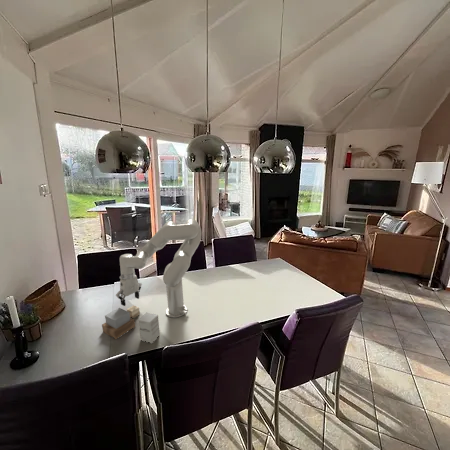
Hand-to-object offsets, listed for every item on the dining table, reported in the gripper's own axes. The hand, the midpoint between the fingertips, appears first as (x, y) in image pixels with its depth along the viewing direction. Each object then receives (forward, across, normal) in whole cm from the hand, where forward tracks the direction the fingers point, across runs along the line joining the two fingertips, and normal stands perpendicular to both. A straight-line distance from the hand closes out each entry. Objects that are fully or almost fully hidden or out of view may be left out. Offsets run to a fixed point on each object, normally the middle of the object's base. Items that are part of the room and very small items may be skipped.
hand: (130, 301), depth 154 cm
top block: (+5, -12, -5) cm, 14 cm away
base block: (+10, -12, -5) cm, 17 cm away
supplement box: (+9, -8, -26) cm, 29 cm away
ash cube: (+10, +1, -1) cm, 10 cm away
